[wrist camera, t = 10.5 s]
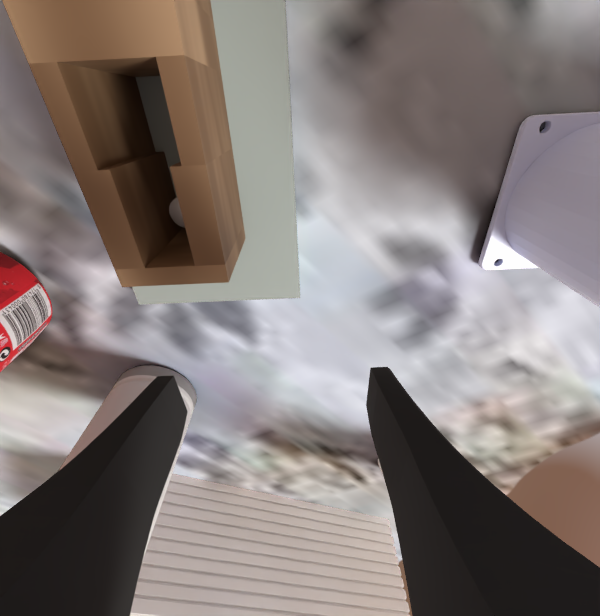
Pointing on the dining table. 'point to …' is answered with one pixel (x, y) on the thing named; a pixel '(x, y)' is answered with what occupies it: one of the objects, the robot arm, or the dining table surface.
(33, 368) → the dining table surface
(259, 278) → the mounting board
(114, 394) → the travel mug
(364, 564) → the stack of papers
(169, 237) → the wooden compartment box
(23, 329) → the soda can
